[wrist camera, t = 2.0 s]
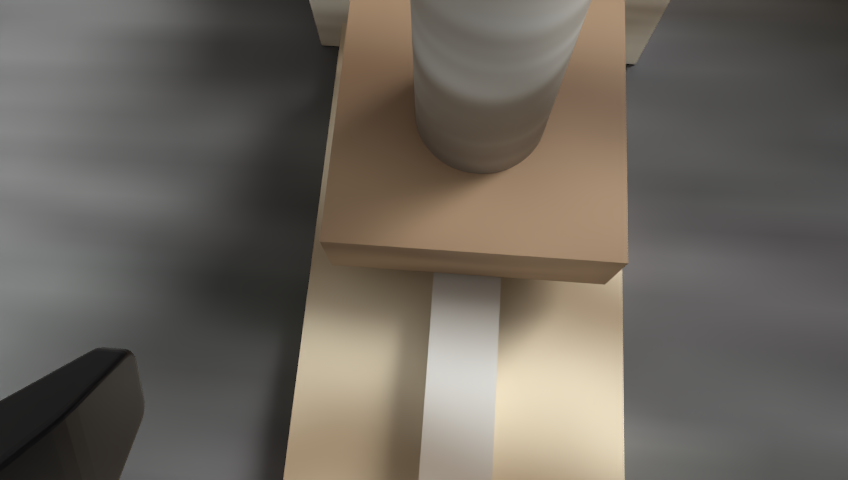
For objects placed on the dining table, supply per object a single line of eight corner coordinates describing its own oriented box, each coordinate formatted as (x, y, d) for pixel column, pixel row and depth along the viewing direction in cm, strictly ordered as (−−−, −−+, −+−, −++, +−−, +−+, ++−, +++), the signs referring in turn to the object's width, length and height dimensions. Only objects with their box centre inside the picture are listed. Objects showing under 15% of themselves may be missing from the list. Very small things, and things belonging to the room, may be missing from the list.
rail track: (651, 898, 18) (801, 1209, 11) (209, 854, 18) (63, 1125, 11) (633, -76, 27) (706, -266, 20) (340, -92, 28) (308, -284, 20)
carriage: (605, 284, 19) (787, 117, 10) (332, 265, 20) (231, 82, 10) (604, 45, 22) (750, -289, 12) (360, 31, 22) (302, -309, 12)
